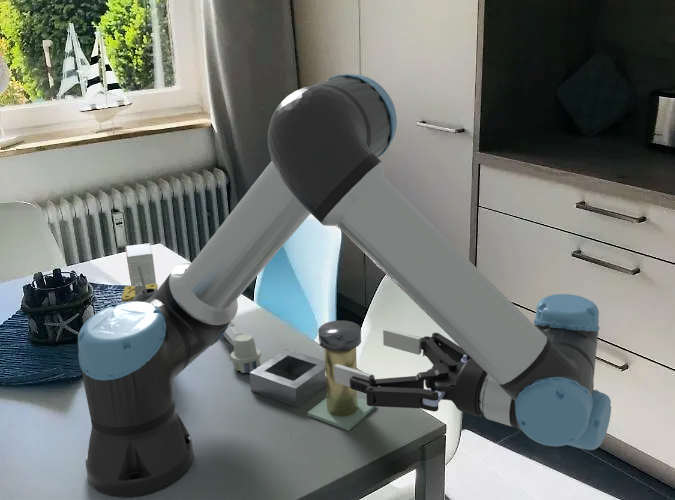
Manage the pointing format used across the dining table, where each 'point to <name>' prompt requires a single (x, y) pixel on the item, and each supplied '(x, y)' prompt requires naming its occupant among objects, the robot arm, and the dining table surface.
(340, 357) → the tan and grey cylinder
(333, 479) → the dining table surface
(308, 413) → the mat
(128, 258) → the small box
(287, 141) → the robot arm
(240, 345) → the white handheld tool
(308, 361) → the box
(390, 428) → the dining table surface
